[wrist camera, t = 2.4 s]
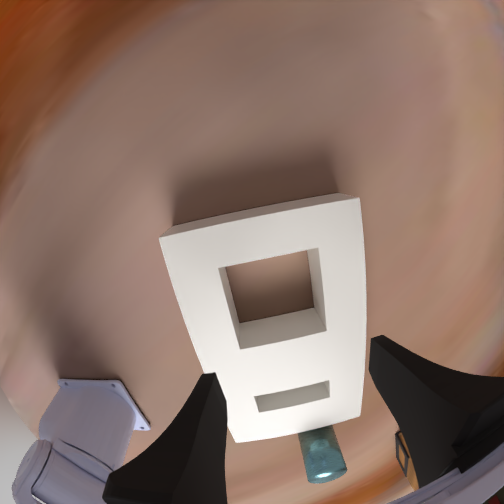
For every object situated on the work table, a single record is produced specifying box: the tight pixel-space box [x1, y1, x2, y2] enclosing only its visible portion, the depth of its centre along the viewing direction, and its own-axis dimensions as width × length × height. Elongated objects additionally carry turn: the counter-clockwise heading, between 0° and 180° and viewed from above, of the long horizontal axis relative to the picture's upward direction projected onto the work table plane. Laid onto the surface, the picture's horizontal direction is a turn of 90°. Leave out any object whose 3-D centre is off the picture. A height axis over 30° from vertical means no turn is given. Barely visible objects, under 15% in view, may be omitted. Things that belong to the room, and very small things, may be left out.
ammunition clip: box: [395, 431, 419, 491], centre depth 24 cm, size 11×2×12 cm, turn 24°
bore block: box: [159, 193, 366, 443], centre depth 20 cm, size 12×20×4 cm, turn 11°
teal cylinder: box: [298, 425, 347, 483], centre depth 22 cm, size 4×4×7 cm
